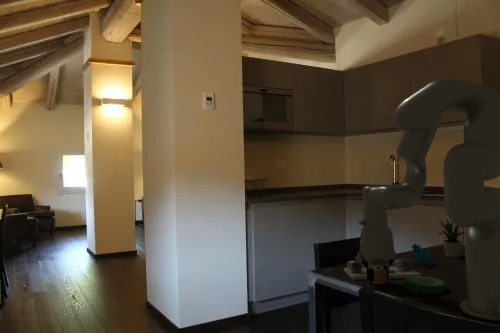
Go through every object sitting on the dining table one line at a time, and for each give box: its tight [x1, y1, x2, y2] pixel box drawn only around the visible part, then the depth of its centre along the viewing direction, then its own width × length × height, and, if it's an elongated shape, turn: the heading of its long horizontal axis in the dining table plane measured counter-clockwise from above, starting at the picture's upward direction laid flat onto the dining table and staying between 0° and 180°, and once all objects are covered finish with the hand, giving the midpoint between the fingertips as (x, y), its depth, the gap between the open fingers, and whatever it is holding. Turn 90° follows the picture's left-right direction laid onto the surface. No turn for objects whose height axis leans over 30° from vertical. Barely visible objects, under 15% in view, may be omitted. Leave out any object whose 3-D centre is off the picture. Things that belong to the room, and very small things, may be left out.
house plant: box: [435, 218, 466, 258], centre depth 168 cm, size 14×14×16 cm
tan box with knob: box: [371, 264, 388, 285], centre depth 131 cm, size 6×4×5 cm, turn 2°
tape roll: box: [404, 275, 446, 295], centre depth 123 cm, size 11×11×3 cm
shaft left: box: [346, 259, 366, 273], centre depth 141 cm, size 7×4×4 cm, turn 92°
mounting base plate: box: [343, 265, 422, 281], centre depth 141 cm, size 12×23×2 cm, turn 92°
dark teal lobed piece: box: [411, 243, 435, 267], centre depth 155 cm, size 11×6×10 cm
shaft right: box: [391, 257, 414, 271], centre depth 142 cm, size 7×4×4 cm, turn 107°
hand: (377, 279), depth 130 cm, fingers closed on tan box with knob, 4 cm apart
